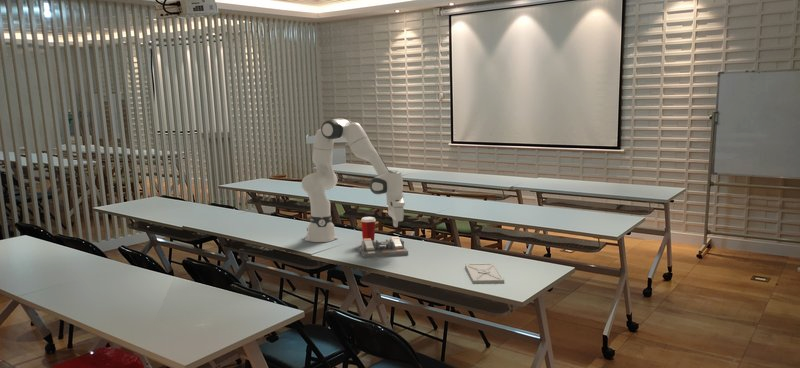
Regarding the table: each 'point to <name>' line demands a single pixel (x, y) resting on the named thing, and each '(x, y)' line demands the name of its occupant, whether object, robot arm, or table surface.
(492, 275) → the envelope
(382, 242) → the rocker
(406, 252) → the switch panel
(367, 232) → the coffee cup
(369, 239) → the rocker
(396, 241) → the rocker
